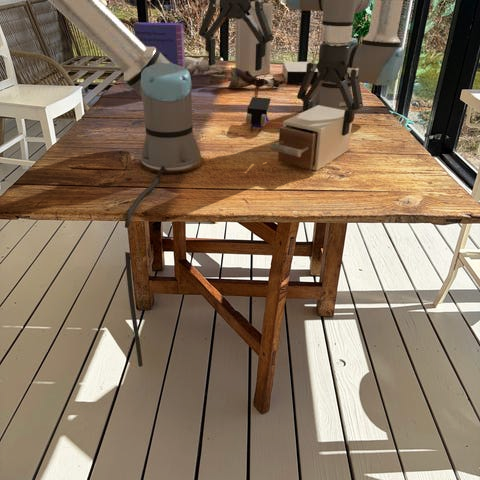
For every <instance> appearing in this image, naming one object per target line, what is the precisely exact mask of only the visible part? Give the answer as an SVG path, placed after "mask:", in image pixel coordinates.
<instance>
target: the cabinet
mask: <svg viewBox="0 0 480 480" xmlns="http://www.w3.org/2000/svg"><path fill="white" fill-rule="evenodd" d="M344 113H345V110H341V109H335V108H330V107H325V106H320V105H318V106H315V107H313V108H311V109H309V110H307V111H304V112H300V113H298V114H295V115H294V116H291V117H290V118H287V119H285V120H283V121H282V122H283V123H282V124H283V125H282V127H286V128H287V127H288V126H293V127H298V128H302V129H307V130H311V131H316V132H318V137H317V147H316V157H315V164H313V166H312V169H311V170H313V171H318V170H320V169H322V168H323V167H325V166H327V165H328V164H329V163H331V162H332V161H334V160H335V159H337V158H338V157H340V156H341V155H343V154H344V153H346V152H347V151H349V149H350V142H351V134H352V126H353V122H352V123H350V127H349V133H348V134H346V135H345V136H343V135H342V129H343V121H344Z"/></svg>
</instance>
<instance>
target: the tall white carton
mask: <svg viewBox="0 0 480 480" xmlns="http://www.w3.org/2000/svg"><path fill="white" fill-rule="evenodd" d="M273 8H274V4H273V3H269V2H267V3H266V2H265V3H264V2H263V11H264V14H265V16H266V19H267V22H268V24H269V27H270V30H271V33H272V34H273V32H272V31H273V10H274V9H273ZM249 12H250V13H251V15H252V17H253V19H254V21H255V22H256V24H257V25H258V27H259V29H260V30H261V32H262V33H263V31H262V29H261V26H260V23H259V21H258V18H257V15H256V12H255V10H254V9H253V7H251V8H250V10H249ZM263 35H264V34H263ZM258 43H259V42H258V40H257V39H256V37H255V36H254V34H253V33H252V31H251V29H250V28H249V26H248V25H247V23H246V22H245V21H244V20H243V19H235V59H234V60H235V62H234V63H235V65H234V66H235V67H234V68H237V69H240V70H242V71H244V72H245V71H249V72H250V73H251V75H252V76H256V77H257V76H259V75H260V76H261V75H266V74H270V73H271V56H272V55H271V54H272V41H270V42H267V43H266V52H265V56H264V57H262V67H261V70H259V71H255V59H256V44H258Z"/></svg>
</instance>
